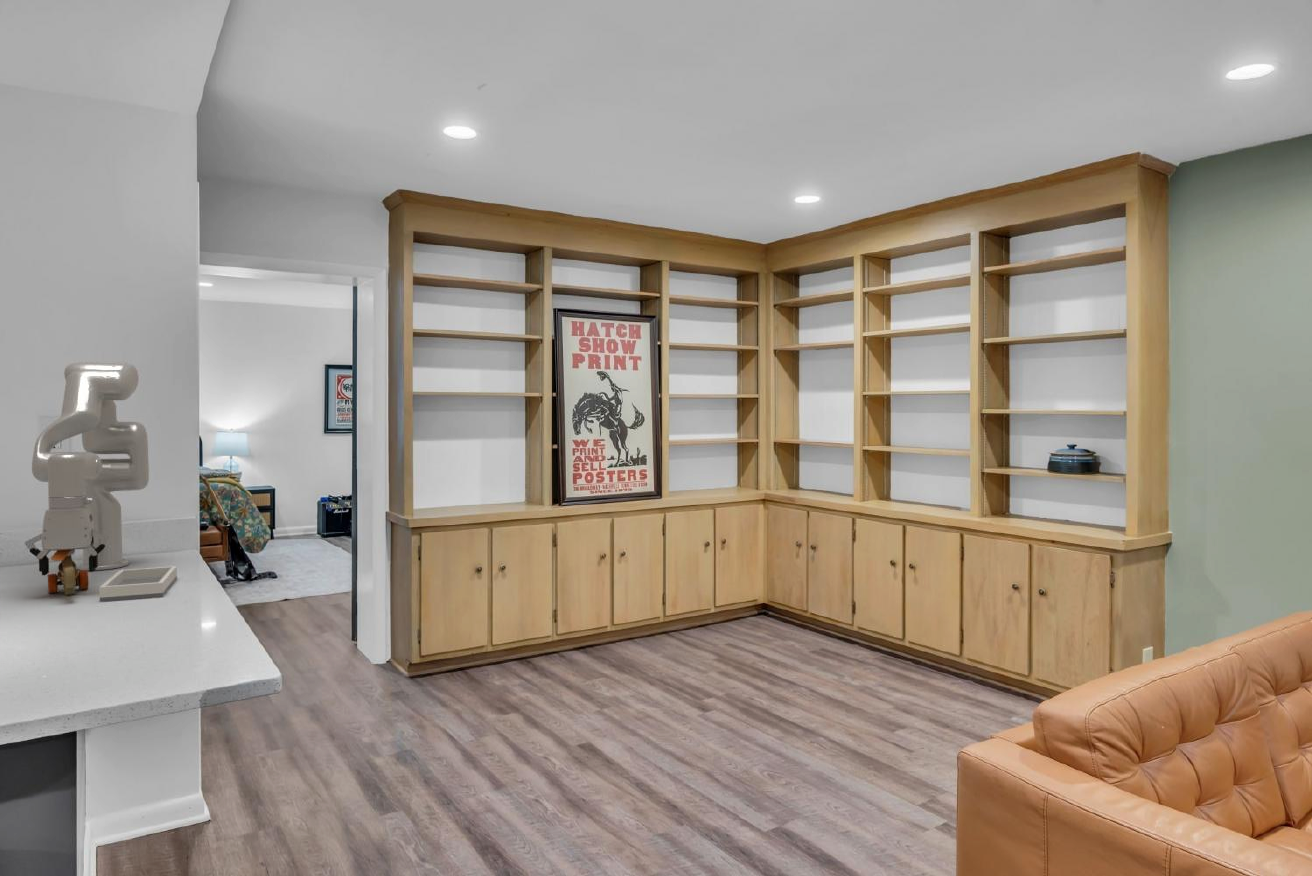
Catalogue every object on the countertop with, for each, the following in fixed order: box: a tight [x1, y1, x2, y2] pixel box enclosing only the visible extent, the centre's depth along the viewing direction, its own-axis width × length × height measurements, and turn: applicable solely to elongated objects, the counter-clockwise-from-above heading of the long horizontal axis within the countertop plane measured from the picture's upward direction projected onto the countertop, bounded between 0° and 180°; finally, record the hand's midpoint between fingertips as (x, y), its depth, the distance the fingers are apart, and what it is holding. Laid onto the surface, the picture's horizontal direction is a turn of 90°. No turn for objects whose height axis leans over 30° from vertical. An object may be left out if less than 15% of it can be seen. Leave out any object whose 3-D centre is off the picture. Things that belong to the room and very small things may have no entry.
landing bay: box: [98, 565, 178, 602], centre depth 206 cm, size 23×13×4 cm, turn 23°
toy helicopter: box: [47, 549, 89, 596], centre depth 199 cm, size 8×21×14 cm, turn 38°
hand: (69, 572), depth 200 cm, fingers open, 9 cm apart
